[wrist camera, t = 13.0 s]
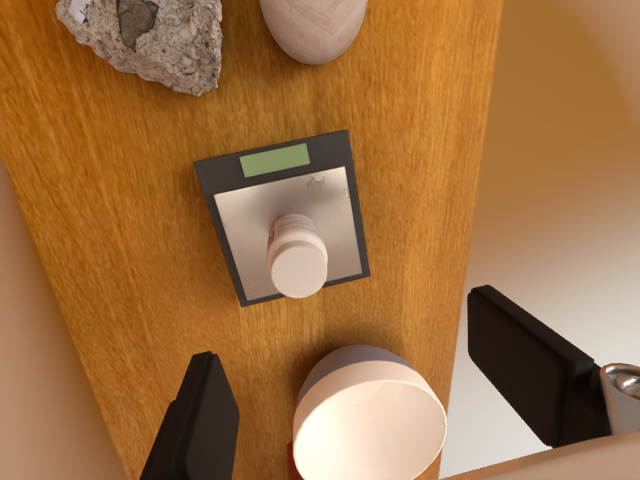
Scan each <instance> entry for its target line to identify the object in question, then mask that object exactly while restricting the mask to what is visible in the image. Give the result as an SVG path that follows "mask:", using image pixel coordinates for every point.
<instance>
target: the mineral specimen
mask: <svg viewBox="0 0 640 480" xmlns="http://www.w3.org/2000/svg"><path fill="white" fill-rule="evenodd" d="M55 8H56V17H57V19H59V20H61V22H63V23H64V24H65V26H66V27H67V28H68V30H69V32H71V33H72V34H74V37H75V39H76V41H77V42H79V43H80V44H82V45H83V46H85V45H86V44H87V45H88V46H90V47H92V49H93V51H94V52H95V53H96V55H98V56H99V57H100V58H103V59H105V60H107V62H108V63H109V64H111V65H112V66H113V67H114V68H115V69H116V70H118V71H120V72H123V73H125V72H126V73H134V74H136V73H137V74H138V75H139V76H140V77H141V78H142V79H144V80H146V81H153V82H155V81H159V82H161V84H164V85H167V87H168V88H170V87H172V89H173V90H174V91H177V92H181V93H182V92H184V93H186V94H188V95H190V94H191V93H192V94H193V95H195V96H197V97H200V95H201V94H202V92H204V90H205V91H207V92H208V91H209V90H210V89H212V88H218V85H217V80H216V79H218V78H219V73H220V71H221V70H220V69H221V65H222V64H221V60H222V59H221V53H222V51H223V47H222V43H221V42H222V38H223V36H222V33H220V32H221V28H220V26H219V22H221V20H222V14H221V12H222V5H221V3H220V0H60V1H59V2H58V3H57V5H56V7H55Z"/></svg>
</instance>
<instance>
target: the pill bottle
mask: <svg viewBox="0 0 640 480" xmlns="http://www.w3.org/2000/svg"><path fill="white" fill-rule="evenodd" d="M266 262H267V267H268V270H269V272H270V274H271V279H272V282H273V285H274V286H275V287H276V289H277V290H278V291H279V292H281V293H282V294H284V295H286V296H288V297H292V298H304V297H308V296H310V295H313V294H314V293H316V292H317V291H318V290H319V289H320V288H321V287H322V286H323V284H324V283H325V281H326V278H327V262H328V255H327V251H326V247H325V245H324V243H323V241H322V238H321V236H320V234H319V231H318V228H317V226H316V224H315V223H314V222H313V221H312V220H311V219H310V218H309V217H307V216H306V215H303V214H300V213H288V214H285V215H282V216H281V217H279V218H278V219H277V220H276V221H275V222H274V223H273V224H272V226H271V228H270V231H269V237H268V246H267V256H266Z"/></svg>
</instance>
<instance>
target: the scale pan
mask: <svg viewBox="0 0 640 480" xmlns="http://www.w3.org/2000/svg"><path fill="white" fill-rule="evenodd" d="M214 198H215V201H216V204H217V208H218V211H219V214H220V217H221V220H222V223H223V226H224V229H225V233H226V236H227V239H228V242H229V245H230V248H231V251H232V254H233V258H234V261H235V264H236V267H237V270H238V273H239V276H240V279H241V282H242V286H243V289H244V292H245V295H246V298H247V301H249V300H253V299H257V298H261V297H265V296H269V295H274V294H278V293H281V292H279V291H278V290H277V289H276V287H275V286H274V285H273V282H272V279H271V274H270V272H269V270H268V267H267V262H266V256H267V246H268V237H269V231H270V228H271V226H272V224H273V223H274V222H275V221H276V220H277V219H278V218H279V217H281V216H282V215H285V214H288V213H300V214H303V215H306V216H307V217H309V218H310V219H311V220H312V221H313V222H314V223H315V224H316V226H317V228H318V231H319V234H320V236H321V238H322V241H323V243H324V245H325V247H326V251H327V255H328V262H327V278H326V281H325V282H327V281H332V280H336V279H340V278H344V277H348V276H352V275H357V274H361V273H362V269H361V263H360V257H359V251H358V245H357V239H356V233H355V227H354V221H353V214H352V208H351V202H350V196H349V190H348V184H347V178H346V172H345V166H338V167H333V168H329V169H324V170H320V171H315V172H310V173H306V174H301V175H297V176H292V177H287V178H283V179H278V180H274V181H269V182H264V183H260V184H255V185H250V186H246V187H241V188H237V189H232V190H227V191H223V192H218V193H215V194H214Z"/></svg>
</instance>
